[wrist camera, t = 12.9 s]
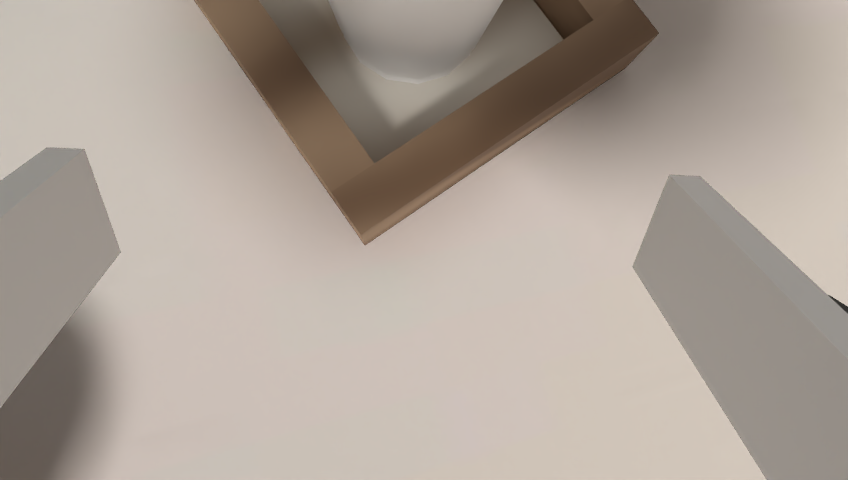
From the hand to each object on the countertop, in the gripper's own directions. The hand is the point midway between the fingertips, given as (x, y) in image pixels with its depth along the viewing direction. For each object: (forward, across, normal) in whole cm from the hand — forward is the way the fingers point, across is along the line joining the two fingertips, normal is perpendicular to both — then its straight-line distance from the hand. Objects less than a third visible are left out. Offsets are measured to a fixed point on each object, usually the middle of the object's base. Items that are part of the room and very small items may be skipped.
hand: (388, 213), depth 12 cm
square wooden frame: (+15, +1, +1) cm, 15 cm away
